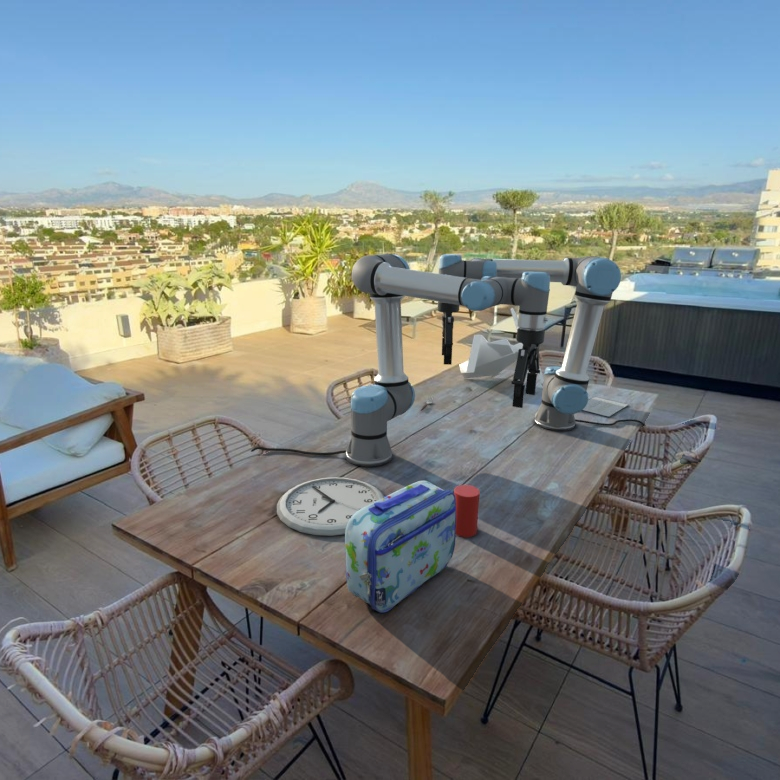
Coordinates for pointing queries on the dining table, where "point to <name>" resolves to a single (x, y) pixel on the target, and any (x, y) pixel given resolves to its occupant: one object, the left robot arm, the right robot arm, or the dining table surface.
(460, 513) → the can
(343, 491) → the wall clock
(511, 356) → the white plastic object
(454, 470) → the dining table surface
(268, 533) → the dining table surface
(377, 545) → the lunch box
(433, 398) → the fork
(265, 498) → the dining table surface
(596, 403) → the invitation card
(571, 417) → the right robot arm
